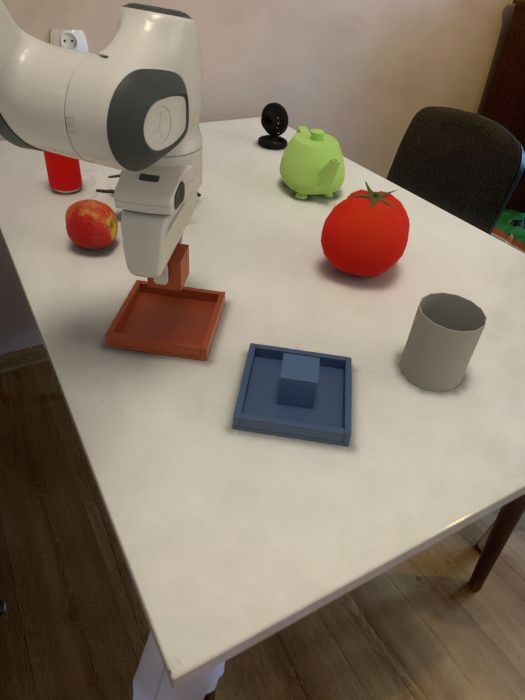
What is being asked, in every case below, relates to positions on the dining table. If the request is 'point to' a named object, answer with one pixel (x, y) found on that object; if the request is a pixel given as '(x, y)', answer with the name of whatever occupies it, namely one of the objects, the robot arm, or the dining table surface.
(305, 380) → the blue block
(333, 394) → the blue tray
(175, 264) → the rust block
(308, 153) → the teapot
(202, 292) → the rust tray
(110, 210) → the apple
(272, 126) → the webcam
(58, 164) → the beverage can
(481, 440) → the dining table surface
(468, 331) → the cup
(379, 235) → the tomato
